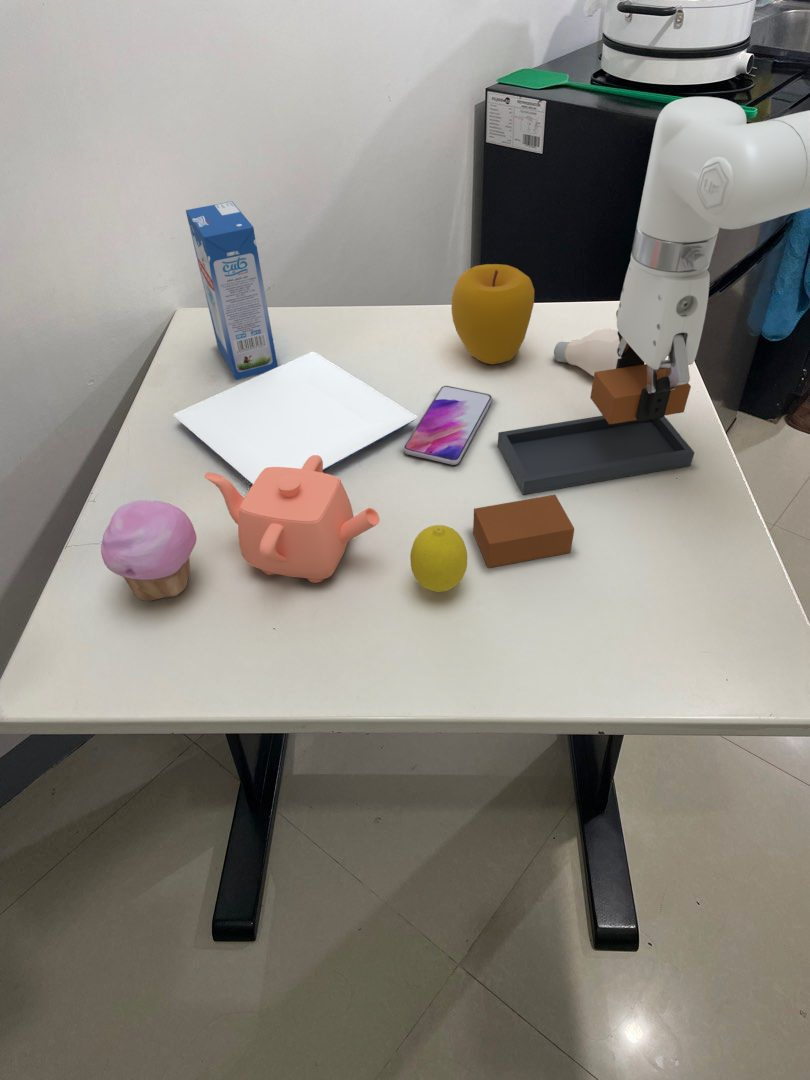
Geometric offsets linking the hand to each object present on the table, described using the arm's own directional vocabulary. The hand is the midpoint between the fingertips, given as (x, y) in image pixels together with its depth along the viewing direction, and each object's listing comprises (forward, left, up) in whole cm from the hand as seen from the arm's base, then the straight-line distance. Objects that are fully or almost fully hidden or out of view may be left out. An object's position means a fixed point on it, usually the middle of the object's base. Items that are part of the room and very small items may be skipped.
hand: (637, 401), depth 84 cm
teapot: (+41, +8, -7) cm, 42 cm away
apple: (+10, -25, -7) cm, 28 cm away
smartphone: (+20, -10, -7) cm, 23 cm away
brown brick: (+18, +12, -7) cm, 22 cm away
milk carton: (+44, -34, -7) cm, 56 cm away
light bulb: (-2, -18, -7) cm, 19 cm away
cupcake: (+55, +9, -7) cm, 56 cm away
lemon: (+28, +16, -7) cm, 33 cm away
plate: (+39, -15, -7) cm, 42 cm away
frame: (+5, 0, -7) cm, 8 cm away
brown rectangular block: (0, 0, 0) cm, 0 cm away
